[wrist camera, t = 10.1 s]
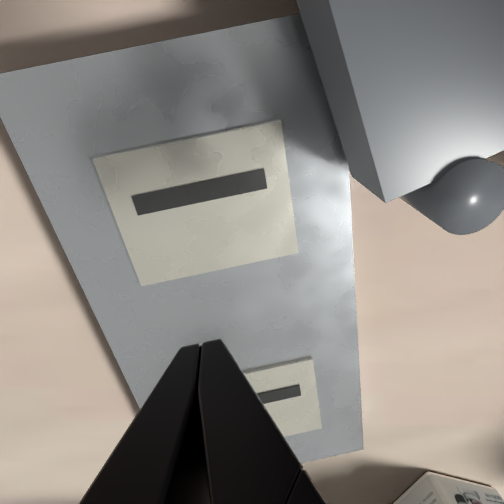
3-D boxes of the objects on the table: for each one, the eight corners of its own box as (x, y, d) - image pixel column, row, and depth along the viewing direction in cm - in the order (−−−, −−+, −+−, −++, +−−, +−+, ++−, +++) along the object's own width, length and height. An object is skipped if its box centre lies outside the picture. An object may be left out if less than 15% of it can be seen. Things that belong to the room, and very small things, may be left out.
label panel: (327, 10, 14) (343, 4, 12) (355, 428, 25) (365, 453, 23) (3, 75, 13) (-24, 77, 12) (179, 467, 25) (178, 495, 23)
